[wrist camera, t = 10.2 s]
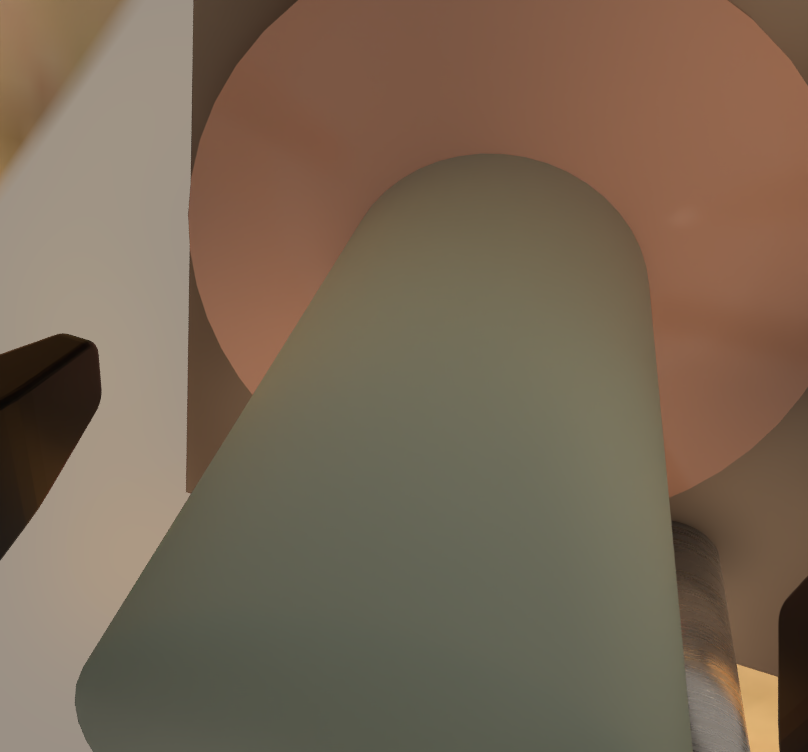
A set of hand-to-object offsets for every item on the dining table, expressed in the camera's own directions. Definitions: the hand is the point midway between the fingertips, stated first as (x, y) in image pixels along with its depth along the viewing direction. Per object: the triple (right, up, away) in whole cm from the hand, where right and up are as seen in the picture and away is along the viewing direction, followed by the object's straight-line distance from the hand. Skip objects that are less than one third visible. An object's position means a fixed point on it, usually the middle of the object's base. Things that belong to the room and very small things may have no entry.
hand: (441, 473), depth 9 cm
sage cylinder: (+1, +2, +3) cm, 4 cm away
